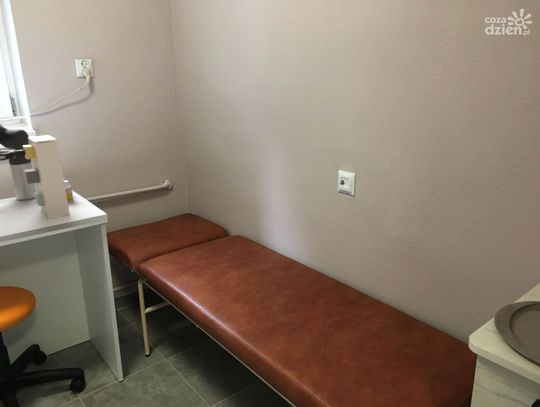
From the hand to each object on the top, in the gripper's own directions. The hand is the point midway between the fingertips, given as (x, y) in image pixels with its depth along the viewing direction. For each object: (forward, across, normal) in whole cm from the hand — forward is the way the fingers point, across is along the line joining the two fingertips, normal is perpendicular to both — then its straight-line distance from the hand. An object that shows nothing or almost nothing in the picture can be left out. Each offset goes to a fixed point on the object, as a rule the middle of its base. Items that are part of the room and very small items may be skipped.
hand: (24, 152), depth 178 cm
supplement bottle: (+15, +15, +27) cm, 34 cm away
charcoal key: (+2, 0, +12) cm, 13 cm away
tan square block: (+3, 0, +2) cm, 4 cm away
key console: (+7, 0, +27) cm, 28 cm away
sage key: (+4, 0, +22) cm, 23 cm away
